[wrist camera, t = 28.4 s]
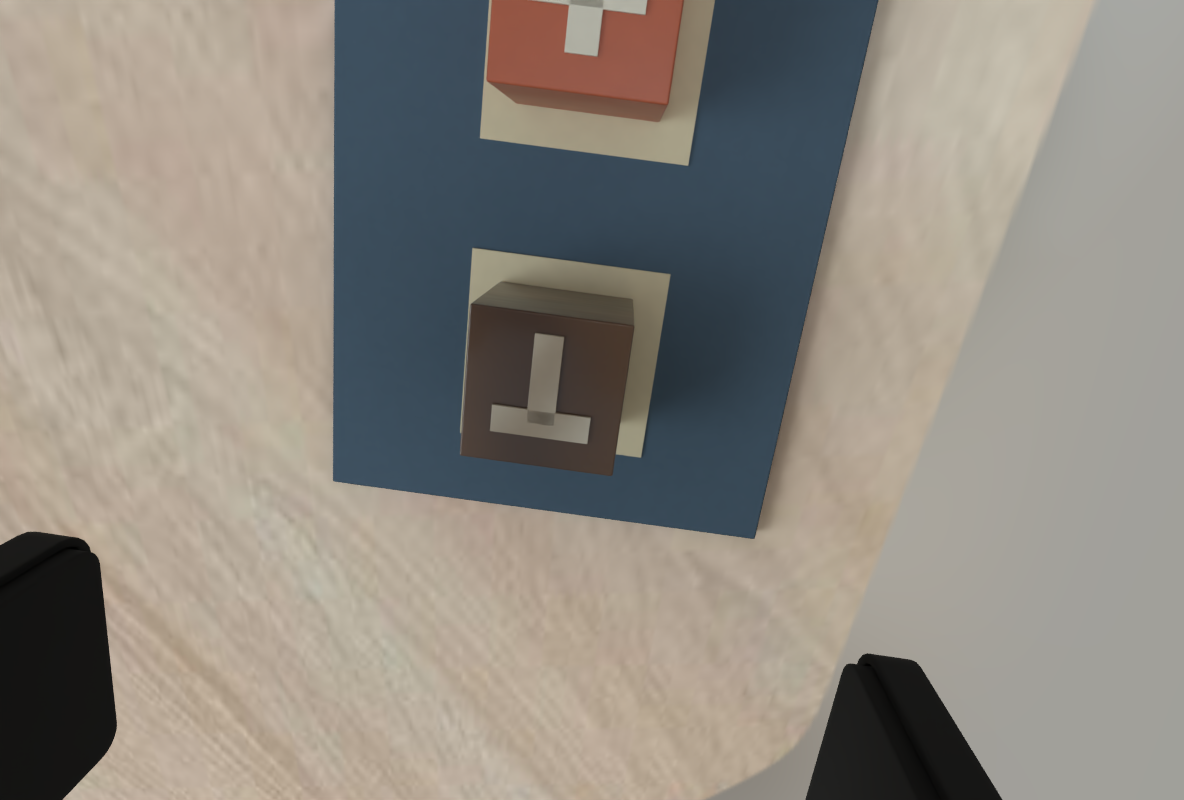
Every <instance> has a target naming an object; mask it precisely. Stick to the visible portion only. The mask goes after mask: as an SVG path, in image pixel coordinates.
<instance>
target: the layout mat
mask: <svg viewBox="0 0 1184 800" xmlns="http://www.w3.org/2000/svg"><path fill="white" fill-rule="evenodd" d="M491 3H492V0H335V82H334V384H333V481H335V482H342V483H350V484H357V485H364V486H372V487H379V488H386V489H393V490H401V491H408V492H415V493H423V494H430V495H437V496H445V497H452V498H459V499H466V500H474V501H481V502H488V503H496V504H503V505H510V506H517V507H525V508H532V509H539V510H547V511H554V512H561V513H569V514H576V515H583V516H590V517H598V518H605V519H612V520H620V521H627V522H634V523H642V524H649V525H656V526H663V527H671V528H678V529H685V530H693V531H700V532H707V533H715V534H722V535H729V536H736V537H744V538H751V539H754V538H755V535H756V530H757V526H758V521H759V517H760V513H761V508H762V504H763V500H764V495H765V491H766V487H767V482H768V478H769V474H770V469H771V465H772V461H773V456H774V452H775V448H776V443H777V439H778V434H779V430H780V426H781V421H782V417H783V413H784V408H785V404H786V400H787V395H788V391H789V387H790V382H791V378H792V374H793V369H794V365H795V361H796V356H797V352H798V347H799V343H800V339H801V334H802V330H803V326H804V321H805V317H806V313H807V308H808V304H809V300H810V295H811V291H812V287H813V282H814V278H815V273H816V269H817V265H818V260H819V256H820V252H821V247H822V243H823V239H824V234H825V230H826V226H827V221H828V217H829V213H830V208H831V204H832V200H833V195H834V191H835V186H836V182H837V178H838V173H839V169H840V165H841V160H842V156H843V152H844V147H845V143H846V139H847V134H848V130H849V126H850V121H851V117H852V112H853V108H854V104H855V99H856V95H857V91H858V86H859V82H860V78H861V73H862V69H863V65H864V60H865V56H866V52H867V47H868V43H869V39H870V34H871V30H872V25H873V21H874V17H875V12H876V8H877V4H878V0H684V4H683V11H682V18H681V25H680V31H679V38H678V45H677V51H676V58H675V65H674V72H673V78H672V85H671V92H670V98H669V104H668V106H667V108H666V110H665V112H664V114H663V116H662V118H661V120H660V121H659V122H652V121H644V120H637V119H629V118H622V117H614V116H607V115H599V114H591V113H584V112H576V111H569V110H561V109H553V108H546V107H538V106H531V105H523V104H517V103H515V102H514V101H512V100H511V99H510V98H508V97H507V96H506V95H504V94H503V93H502V92H501V91H499V90H498V89H497V88H495V87H494V86H493V85H491V84H490V83H489V82H487V80H486V76H487V61H488V46H489V32H490V17H491ZM501 281H502V282H510V283H517V284H525V285H532V286H540V287H547V288H554V289H562V290H569V291H577V292H584V293H592V294H599V295H606V296H614V297H621V298H629V299H633V308H634V325H635V328H634V335H633V342H632V348H631V355H630V362H629V369H628V375H627V382H626V389H625V395H624V402H623V409H622V416H621V422H620V429H619V436H618V442H617V449H616V456H615V462H614V469H613V475H612V476H606V475H598V474H591V473H584V472H576V471H569V470H562V469H555V468H547V467H540V466H533V465H525V464H518V463H511V462H503V461H496V460H489V459H482V458H474V457H467V456H461V455H460V442H461V428H462V413H463V398H464V384H465V369H466V355H467V340H468V326H469V311H470V304H471V303H472V302H474V301H475V300H476V299H478V298H479V297H480V296H482V295H483V294H484V293H486V292H487V291H488V290H490V289H491V288H492V287H494V286H495V285H496V284H498V283H499V282H501Z"/></svg>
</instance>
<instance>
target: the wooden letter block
mask: <svg viewBox="0 0 1184 800" xmlns="http://www.w3.org/2000/svg"><path fill="white" fill-rule="evenodd" d="M634 328H635V325H634V308H633V299H629V298H621V297H614V296H606V295H599V294H592V293H584V292H577V291H569V290H562V289H554V288H547V287H540V286H532V285H525V284H517V283H510V282H502V281H501V282H499V283H498V284H496V285H495V286H494V287H492V288H491V289H490V290H488V291H487V292H486V293H484V294H483V295H482V296H480V297H479V298H478V299H476V300H475V301H474V302H472V303H471V304H470V311H469V326H468V340H467V355H466V369H465V384H464V398H463V413H462V428H461V442H460V455H461V456H467V457H474V458H482V459H489V460H496V461H503V462H511V463H518V464H525V465H533V466H540V467H547V468H555V469H562V470H569V471H576V472H584V473H591V474H598V475H606V476H612V475H613V469H614V462H615V456H616V449H617V442H618V436H619V429H620V422H621V416H622V409H623V402H624V395H625V389H626V382H627V375H628V369H629V362H630V355H631V348H632V342H633V335H634Z"/></svg>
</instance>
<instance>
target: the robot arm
mask: <svg viewBox="0 0 1184 800" xmlns="http://www.w3.org/2000/svg"><path fill="white" fill-rule="evenodd" d="M116 729H117V720H116V711H115V701H114V692H113V683H112V673H111V664H110V654H109V645H108V636H107V626H106V617H105V608H104V598H103V589H102V579H101V570H100V563H99V559H98V557H97V556H96V555H95V554H94V553H91V551H90V547H89V546H88V544H87V543H86V542H85V541H84V540H82V539H79V538H76V537H69V536H62V535H55V534H48V533H41V532H26V533H24V534H21V535H19V536H16V537H15V538H13V539H11V540H9V541H7V542H5V543H4V544H2V545H0V800H63V798H64V797H65V796H66V795H67V794H68V793H69V792H70V791H71V790H72V789H73V788H74V787H75V786H76V785H77V784H78V783H79V782H80V781H81V780H82V779H83V778H84V776H85V775H86V774H87V773H88V772H89V771H90V770H91V769H92V768H93V767H94V766H95V765H96V764H97V763H98V762H99V761H100V760H101V759H102V757H103V756H104V755H105V754H106V752H107V751H108V749H109V747H110V746H111V744H112V741H113V739H114V737H115V733H116ZM806 800H1002V799H1001V797H1000V795H999V794H998V792H997V790H996V789H995V787H994V785H993V784H992V782H991V781H990V779H989V777H988V776H987V774H986V772H985V771H984V769H983V768H982V766H981V764H980V763H979V761H978V759H977V758H976V756H975V755H974V753H973V751H972V750H971V748H970V747H969V745H968V743H967V742H966V740H965V738H964V737H963V735H962V733H961V732H960V730H959V729H958V727H957V725H956V724H955V722H954V720H953V719H952V717H951V716H950V714H949V712H948V711H947V709H946V707H945V706H944V704H943V703H942V701H941V699H940V698H939V696H938V694H937V693H936V691H935V690H934V688H933V686H932V685H931V683H930V681H929V680H928V678H927V677H926V675H925V673H924V672H923V670H922V669H921V667H920V666H919V665H918V664H917V662H915V661H912V660H908V659H901V658H895V657H888V656H881V655H874V654H865V655H862V657H861V658H860V659H859V661H858V663H857V664H847V665H846V666H845V667H844V669H843V672H842V675H841V678H840V681H839V685H838V688H837V692H836V695H835V699H834V702H833V706H832V709H831V713H830V716H829V720H828V723H827V727H826V730H825V734H824V737H823V741H822V744H821V748H820V751H819V754H818V758H817V762H816V765H815V768H814V772H813V775H812V779H811V783H810V786H809V789H808V793H807V796H806Z"/></svg>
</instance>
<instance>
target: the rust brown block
mask: <svg viewBox="0 0 1184 800" xmlns="http://www.w3.org/2000/svg"><path fill="white" fill-rule="evenodd" d="M683 4H684V0H492V3H491V17H490V32H489V46H488V61H487V76H486V80H487V82H489V83H490V84H491V85H493V86H494V87H495V88H497V89H498V90H499V91H501V92H502V93H503V94H504V95H506V96H507V97H508V98H510V99H511V100H512V101H514V102H515V103H517V104H523V105H531V106H538V107H546V108H553V109H561V110H569V111H576V112H584V113H591V114H599V115H607V116H614V117H622V118H629V119H637V120H644V121H652V122H659V121H660V120H661V118H662V116H663V114H664V112H665V110H666V108H667V106H668V104H669V98H670V92H671V85H672V78H673V72H674V65H675V58H676V51H677V45H678V38H679V31H680V25H681V18H682V11H683Z"/></svg>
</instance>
